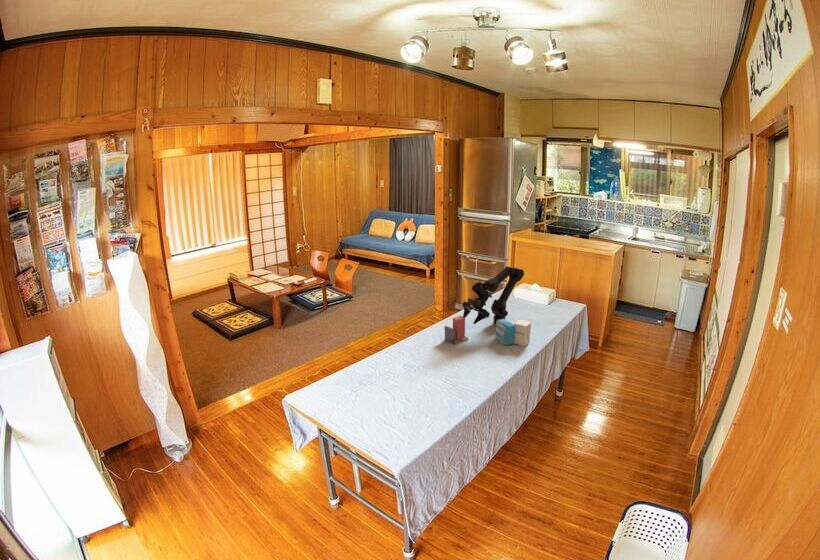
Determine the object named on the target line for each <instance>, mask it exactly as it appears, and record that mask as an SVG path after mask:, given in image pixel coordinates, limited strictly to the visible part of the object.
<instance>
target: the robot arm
mask: <svg viewBox="0 0 820 560" xmlns="http://www.w3.org/2000/svg"><path fill="white" fill-rule="evenodd" d="M524 276H525V271H524V270H523V269H522V268H518V267H511V266H505V268H504V269H503V270H501V271H500V272H499V273H498V274H497V275H496V276H494V277H493V278H489V279H488V280H485V281H484V282H483V283H482V282H481V281H477V283H474V284H473V285H472V287H471V290H472V292H473V293H474V294H476V296H477V297H474V298H471V297H469V298H468V299H467V301H463V302H462V304H461V305H462V308H463V315H462V316H463V317H465V319H466V318H467V317H468V315H469V314H470V313H471V311H472V310H473V311H475V312H477V316H476V318H475V319H474V320H473V323H472V324H473V325H475V324H477V323H479V322H480V321H483V320H484V319H488V318H489V317H490V315H491V314H493V319H492V320H493V321H492V322H493V324H494V325H495V326H496V321H497V320H501V319H505V320H506V317H507V316H508V314H509V312H508V310H507V301H508V299H509V297H510V296H511V294H512V292H513V290H514V288H515V286H516V284H517V283H518V282H519V281H520V282H521V280H522V279H523V277H524ZM507 278H508V281H507V283H506V285H505V286H504V289H503V290H502V293H501V294H500V296H499V298H497V299H494V300H493V302H492V303H491V307H490V309H491V312H492V313H490V312H489V311H488V310H487V309H485V308H484V306H485V307H486V305H487V304H486V303H487V302H488V300H489V298H493V295H492V293H495V292H496V290H498V288H499V286H500V284H501V283H502V282H503V281H505V280H506V279H507Z"/></svg>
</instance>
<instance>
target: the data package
mask: <svg viewBox="0 0 820 560" xmlns="http://www.w3.org/2000/svg"><path fill="white" fill-rule="evenodd" d="M495 339H496V340H498V341H500V342H501V343H502V344H504V345H505V346H509V345H513V344H515V343H514V339H515V326H514V324H513V323H512V322H510V321H508V320H507V319H506V318H505V319H501V320H497V321H496V325H495Z"/></svg>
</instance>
